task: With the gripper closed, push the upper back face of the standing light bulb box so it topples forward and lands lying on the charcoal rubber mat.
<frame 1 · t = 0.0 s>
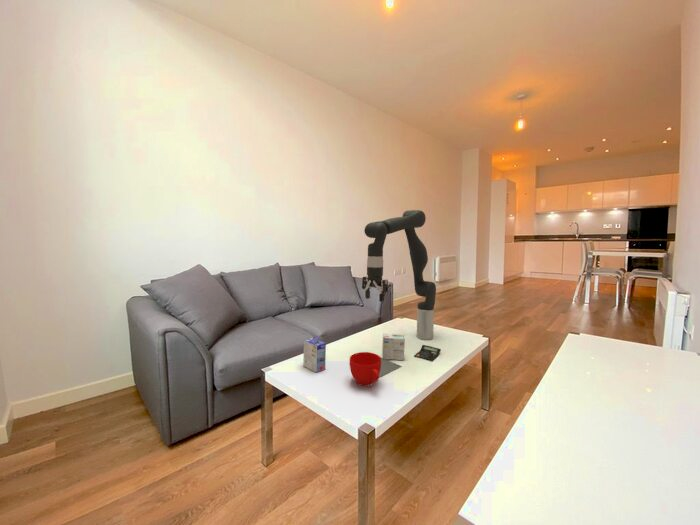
hand: (374, 299, 139), 29 cm above the table, fingers open, 8 cm apart
mat: (375, 365, 136), on the table
ink cartridge box: (314, 368, 133), on the table
ceramic cup: (367, 384, 119), on the table
light bulb box: (392, 357, 145), on the table, touching mat
calculator: (427, 356, 148), on the table
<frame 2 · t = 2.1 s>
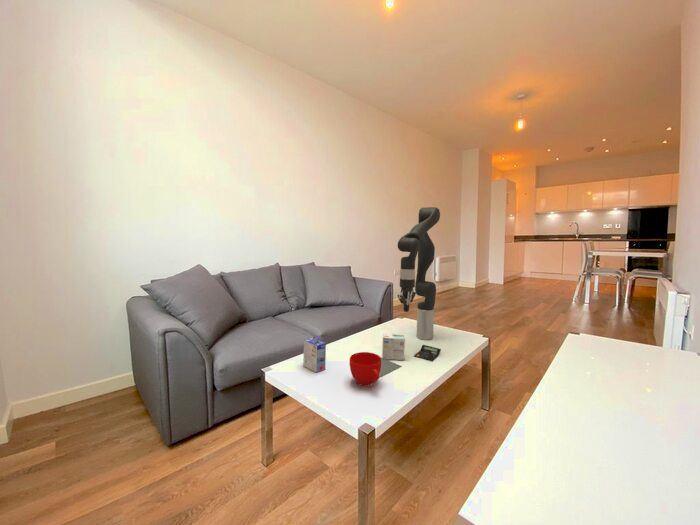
hand: (406, 311, 149), 21 cm above the table, fingers closed
nothing on the table moved.
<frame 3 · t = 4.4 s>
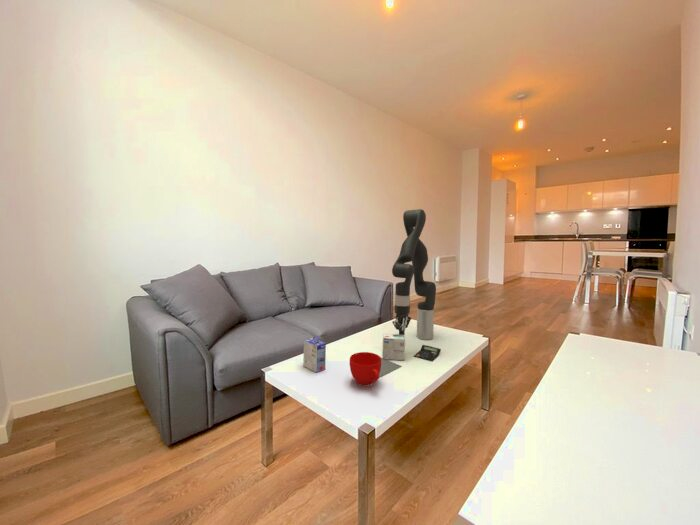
hand: (401, 337, 148), 9 cm above the table, fingers closed
light bulb box: (392, 357, 145), on the table, touching gripper, mat
everything else where it was.
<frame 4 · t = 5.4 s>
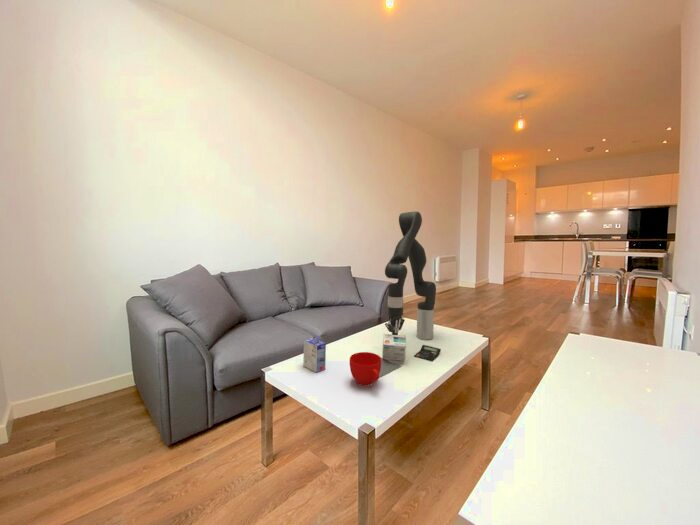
hand: (394, 339, 144), 9 cm above the table, fingers closed
light bulb box: (393, 354, 144), point 2 cm above the table, touching gripper, mat
everything else where it was.
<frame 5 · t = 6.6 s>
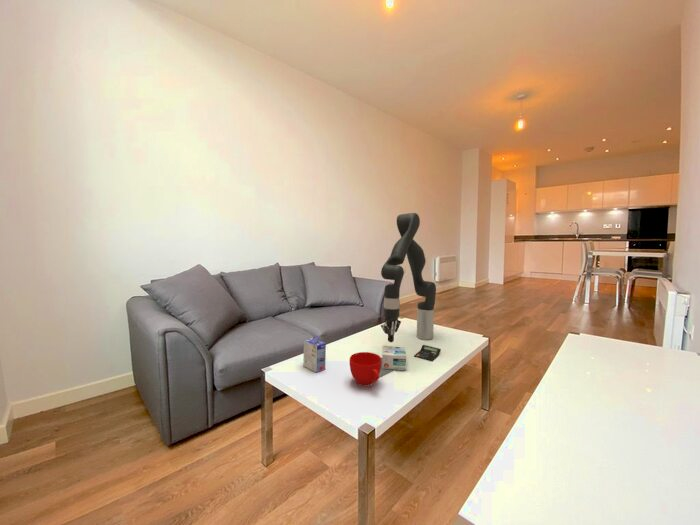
hand: (390, 341, 142), 9 cm above the table, fingers closed
light bulb box: (393, 352, 141), point 4 cm above the table, touching mat
everything else where it was.
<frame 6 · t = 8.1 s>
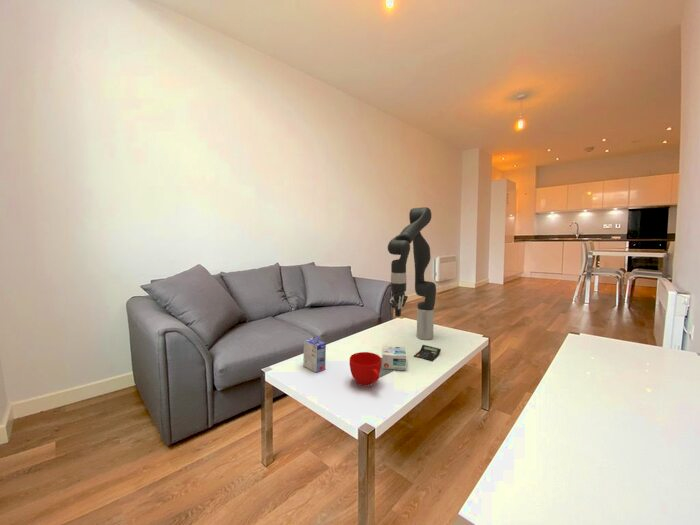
hand: (398, 316, 145), 20 cm above the table, fingers closed
nothing on the table moved.
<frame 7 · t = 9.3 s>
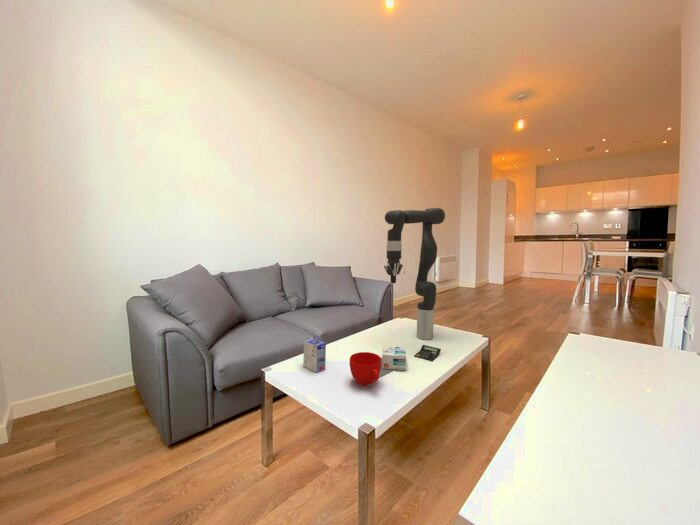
hand: (393, 282, 153), 35 cm above the table, fingers closed
nothing on the table moved.
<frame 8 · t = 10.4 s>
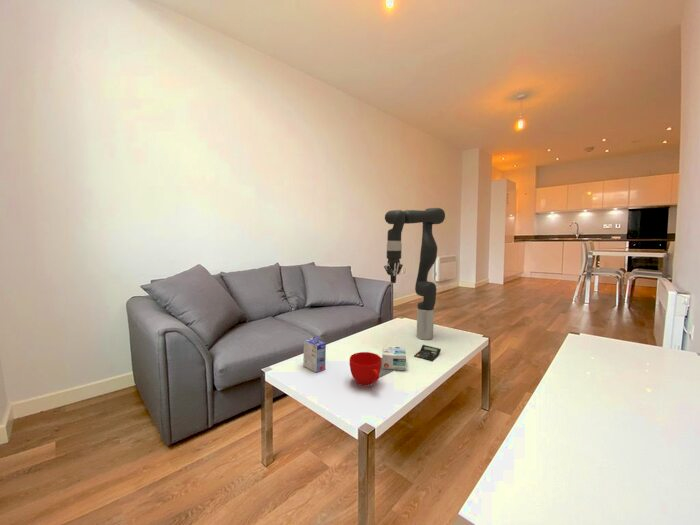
hand: (393, 282, 153), 35 cm above the table, fingers closed
nothing on the table moved.
at the end: light bulb box tilted 89°; light bulb box inside the target area (9.0 cm from its centre), point 3.5 cm above the table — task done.
